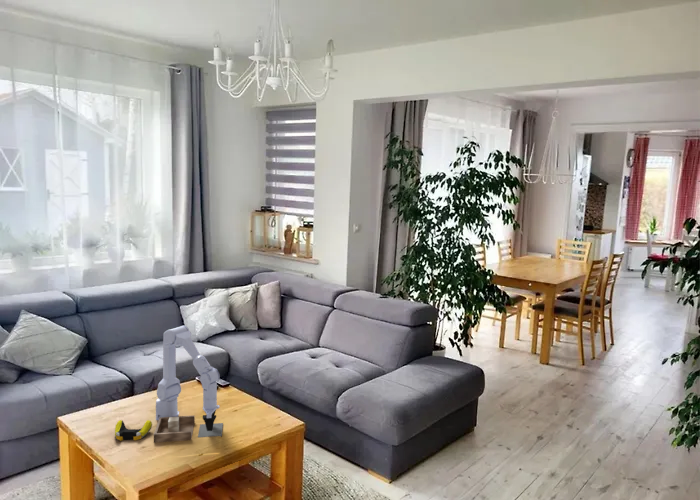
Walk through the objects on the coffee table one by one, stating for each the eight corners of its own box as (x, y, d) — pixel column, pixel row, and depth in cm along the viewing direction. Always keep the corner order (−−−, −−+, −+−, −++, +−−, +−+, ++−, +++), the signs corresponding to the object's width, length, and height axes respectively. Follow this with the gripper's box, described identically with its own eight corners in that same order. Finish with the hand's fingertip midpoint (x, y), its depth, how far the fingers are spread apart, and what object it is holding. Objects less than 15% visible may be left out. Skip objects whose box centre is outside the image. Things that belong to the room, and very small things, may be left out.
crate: (153, 443, 220) (153, 434, 219) (159, 425, 235) (159, 417, 235) (191, 441, 223) (191, 432, 222) (194, 423, 238) (194, 415, 238)
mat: (197, 438, 225) (197, 437, 225) (200, 425, 237) (200, 424, 237) (221, 436, 227) (221, 435, 227) (222, 424, 239) (222, 423, 239)
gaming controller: (118, 430, 230) (109, 442, 220) (117, 418, 229) (108, 429, 219) (153, 430, 231) (146, 441, 221) (153, 418, 230) (145, 429, 220)
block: (168, 434, 226) (168, 421, 226) (169, 430, 230) (169, 417, 229) (178, 434, 227) (177, 420, 226) (179, 429, 231) (178, 416, 230)
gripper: (218, 403, 223) (218, 433, 225) (220, 389, 238) (220, 418, 239) (201, 404, 222) (201, 434, 224) (203, 390, 236) (204, 419, 238)
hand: (210, 426), depth 232 cm, fingers open, 7 cm apart
